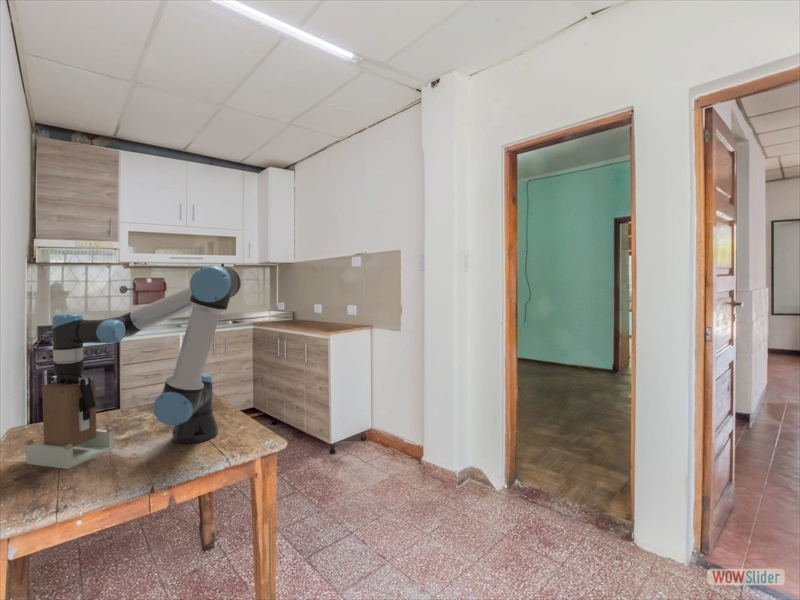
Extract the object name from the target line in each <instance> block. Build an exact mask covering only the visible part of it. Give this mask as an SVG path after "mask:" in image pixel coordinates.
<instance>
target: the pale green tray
mask: <svg viewBox="0 0 800 600" xmlns="http://www.w3.org/2000/svg"><path fill="white" fill-rule="evenodd" d="M96 433H97V435H96V437H95V438H94V439H91V440H89V441H87V442H84V443H82V444H79V445H77V446H74V447H73V445H72V444H68V445H66V446H65V447H61V446H52V445H44V443H43V444H41V443H35V442H34V439H29V440H26V441H25V464H26V465H34V466H39V467H40V466H41V467H49V468H57V469H67V470H69V469H72V468H74V467H76V466H78V465H80V464H83V463H84V462H86V461H89V460H91V459H93V458H95V457H97V456H100V455H102V454H103V453H105V452H108V451H110V450H112V449H114V448H115V446H114V444H115V443H114V427H111V426H110V427H108V428H106V429H101V428H100V429H99V428H96Z"/></svg>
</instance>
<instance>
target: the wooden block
mask: <svg viewBox="0 0 800 600" xmlns="http://www.w3.org/2000/svg"><path fill="white" fill-rule="evenodd" d="M90 385H91V389H92V393H93V396H94V400H95V404H96V403H97V402H96V398H97V397H96V382H95V380H93V379H90ZM41 390H42V391H41V394H42V418H43V419H42V420H43V421H42V422H43V445H52V446H61V447H65V446H66V445H68V444H72V445H73V447H74V446H77V445H79V444H82V443H84V442H87V441H89V440H91V439H94V438H95V437H96V435H97V433H96V429H97V409H96V407H97V406H96V407H94V408H91V409H90V419H89V428H88V429H86V430H83V431H79V411H80V410H81V408H80V406H79V398H83V396H82V392H81V389H80V385H79V383H77V384H65V383H62V384H58V382H56V383H52V384H49V383H48V384H45V385H42V388H41ZM90 405H91V404H90ZM96 405H97V404H96Z"/></svg>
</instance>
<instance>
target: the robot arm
mask: <svg viewBox="0 0 800 600" xmlns="http://www.w3.org/2000/svg"><path fill="white" fill-rule="evenodd" d="M241 282H242V280H241V276H239V273H238V272H237V271H236V270H234V269H233V268H232V267H229V266H220V265H215V264H212V265H210V264H209V265H206V266H205V265H204V266H203V267H200V268H198V269H197V270H196V271H195V272H194V273H193V274H192V275H191V277H190V279H189V287H186V288H184V289H181V290H180V291H177V292H175V293H172V294H170V295H167V296H165V297H163V298H160V299H159V300H155V301H154V302H151V303H148V304H146V305H143V306H142V307H139V308H137V309H135V310H131V311H129V312H127V313H125V314H122V315H120V316H116V317H109V318H104V319H103V318H102V319H84V317H83V314H82V313H76V312H73V313H72V312H68V313H67V312H65V313H57V314H55V315H53V317H52V322H51V323H52V326H51V331H52V345H53V347H52V348H53V349H52V361H53V362H54V363H53V374H54V376H53V375H52V376H49V377H48V378H47V381H48V384H52V383H56V382H58V384H62V383H65V384H77V383H79V385H80V389H81V392H82V396H83V398H79V406H80V408H81V410H80V411H79V431H83V430H86V429H88V428H89V419H90V409H91V408H94V407H97V404H95V400H94V396H93V393H92V389H91V385H90V380H91V378H90V377H86V378H85V377H83V376H82V373H83V372H84V369H85V366H84V364H85V362H84V360H83V359H84V344H86V343H87V344H88V343H89V344H92V343H93V344H115V343H120V342H121V341H122V340H123V339H124V338H126V337H131V336H134V335H136V334H138V333H139V332H141V331H143V330H145V329H148V328H150V327H152V326H155V325H157V324H160V323H162V322H164V321H167V320H169V319H171V318H174V317H176V316H179V315H180V314H181V315H182V314H184V313H185V312H188V311H190V310H191V313H190V315H189V316H190V317H189V319H188V323H187V326H186V330H185V332H184V336H183V340H182V343H181V346H180V350H179V353H178V357H177V359H176V363H175V366H174V370H173V373H172V375H171V376H169V377H167V378H166V380H165V382H164V386H163V388H162V391H161V392H162V393H160V394H159V395H158V396H157V397H156V399H155V400H154V402H153V405H152V412H153V414H154V416H155V417H156V418H157V420H158V421H159V422H160V423H162V424H164V425H166V426H172V427H173V426H174V427H173V430H172V433H171V434H172V435H171V436H172V437H171V438H172V441H173V442H174V443H177V444H195V443H201V442H202V443H203V442H204V441H209V440H210V439H213V438H215V437H216V436H217V435H218V434H219V425H218V423H217V421H216V419H215V416H214V413H213V411H214V409H213V405H214V404H213V384H214V383H213V377H212V375H211V374H209V373H204V370H205V366H206V363H207V360H208V356H209V353H210V351H211V347H212V344H213V340H214V336H215V332H216V330H217V327H218V324H219V319H220V316H221V314H222V313H223V312H225V311H227V309H228V306H229V304H230V300H231V298H233V297H234V296H236V295H237V294H238V292H239V291H240V289H241V285H242V283H241ZM90 404H91V405H90Z"/></svg>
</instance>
